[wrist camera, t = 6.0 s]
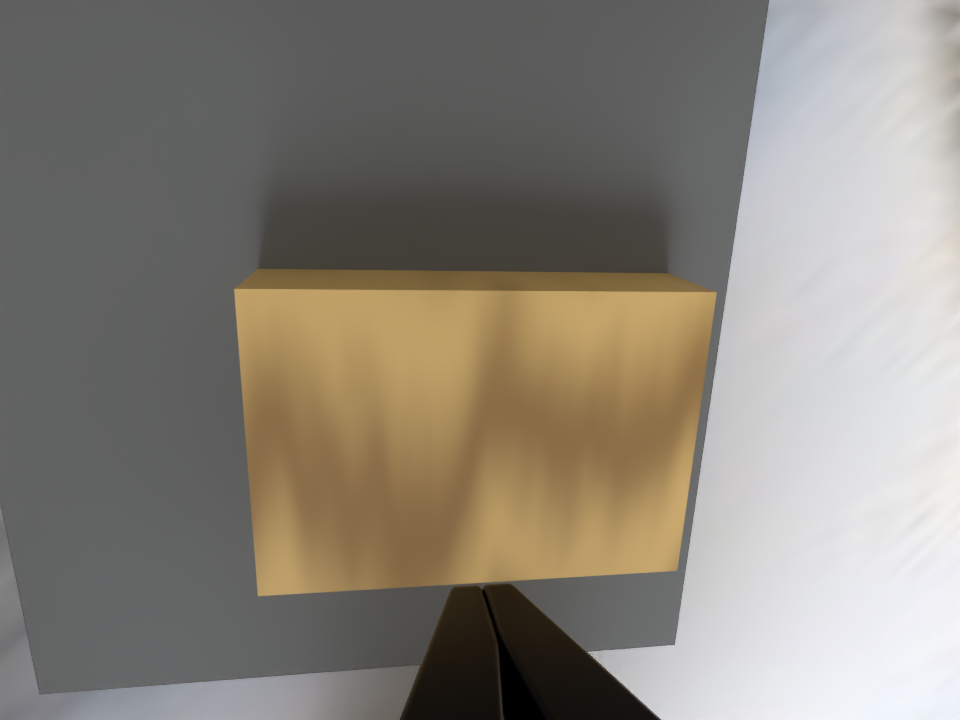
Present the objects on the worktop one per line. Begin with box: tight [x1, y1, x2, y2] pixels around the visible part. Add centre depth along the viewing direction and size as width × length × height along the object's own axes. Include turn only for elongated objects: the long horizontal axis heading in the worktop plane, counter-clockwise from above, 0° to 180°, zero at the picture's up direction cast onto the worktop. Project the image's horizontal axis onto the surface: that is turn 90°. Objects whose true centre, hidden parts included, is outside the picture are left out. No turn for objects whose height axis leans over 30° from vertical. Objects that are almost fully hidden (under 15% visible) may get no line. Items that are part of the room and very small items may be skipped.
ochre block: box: [234, 269, 717, 596], centre depth 15 cm, size 7×2×10 cm
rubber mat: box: [0, 0, 769, 694], centre depth 16 cm, size 18×18×1 cm
